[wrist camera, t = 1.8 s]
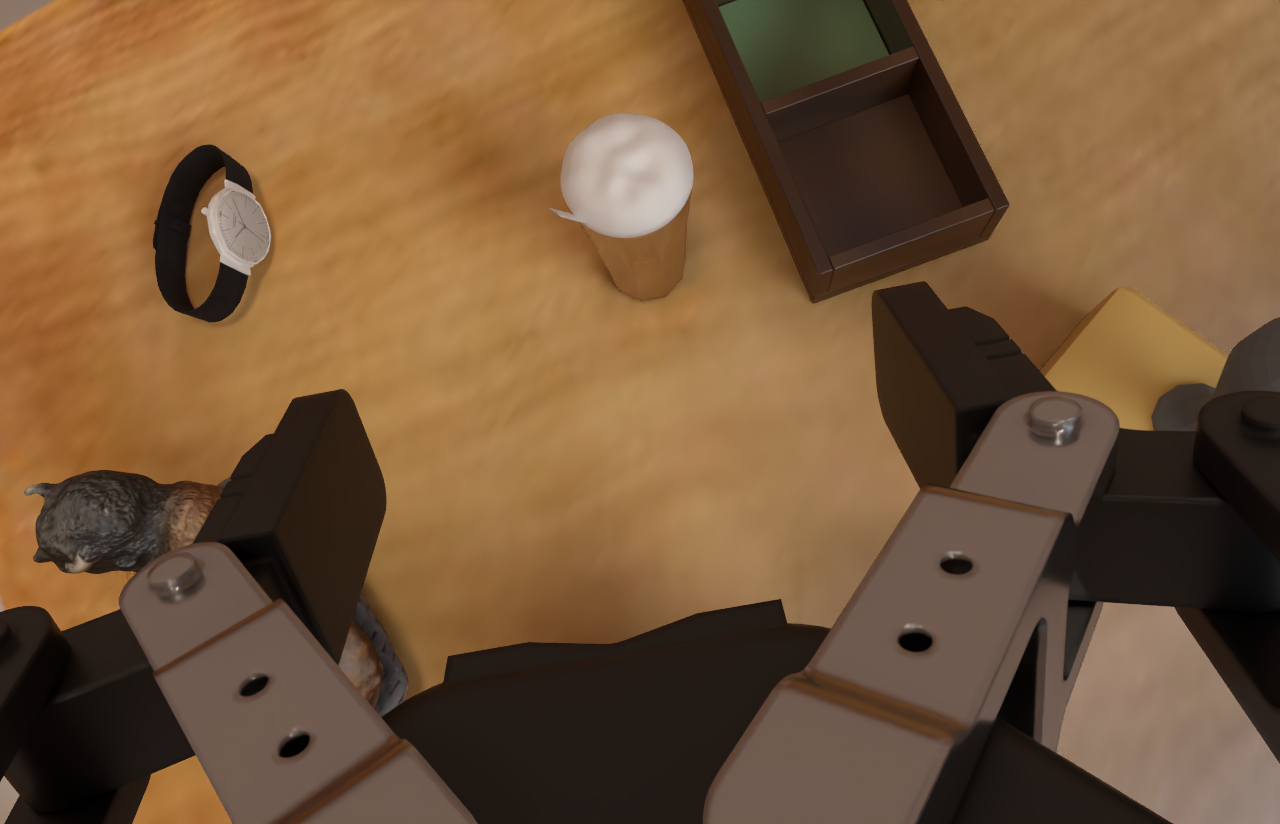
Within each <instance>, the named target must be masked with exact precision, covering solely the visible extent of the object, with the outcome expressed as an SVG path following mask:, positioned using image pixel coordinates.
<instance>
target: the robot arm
mask: <svg viewBox="0 0 1280 824" xmlns="http://www.w3.org/2000/svg"><path fill="white" fill-rule="evenodd" d="M872 321H873V337H874V354H875V370H876V384H877V393H878V398H879V403H880V407H881V411H882V414H883V418H884V420H885V423H886V425H887V427H888V429H889V430H890V432H891V434H892V436H893V438H894V440H895V442H896V444H897V446H898V448H899V449H900V451H901V453H902V455H903V457H904V459H905V461H906V463H907V465H908V466H909V468H910V470H911V472H912V474H913V476H914V478H915V480H916V482H917V484H918V485H919V487H920V489H921V490H920V491H919V492H918V494H917V495H916V497H915V498H914V500H913V502H912V503H911V505H910V506H909V508H908V509H907V511H906V512H905V514H904V516H903V517H902V519H901V520H900V522H899V523H898V525H897V527H896V528H895V530H894V531H893V533H892V534H891V536H890V538H889V539H888V541H887V542H886V544H885V545H884V547H883V549H882V550H881V552H880V553H879V555H878V556H877V558H876V559H875V561H874V563H873V564H872V566H871V567H870V569H869V570H868V572H867V574H866V575H865V577H864V578H863V580H862V581H861V583H860V585H859V586H858V588H857V589H856V591H855V592H854V594H853V595H852V597H851V599H850V600H849V602H848V603H847V605H846V606H845V608H844V610H843V611H842V613H841V614H840V616H839V617H838V619H837V621H836V622H835V624H834V625H833V627H832V628H831V629H830V628H826V627H821V626H814V625H806V624H791V623H787V621H786V617H785V613H784V610H783V606H782V602H781V599H778V600H772V601H767V602H761V603H755V604H749V605H743V606H737V607H732V608H726V609H720V610H714V611H708V612H702V613H697V614H695V615H692V616H689V617H686V618H684V619H681V620H678V621H676V622H673V623H670V624H667V625H665V626H662V627H659V628H657V629H654V630H651V631H649V632H646V633H643V634H640V635H638V636H635V637H632V638H630V639H627V640H624V641H621V642H618V643H613V644H575V643H536V642H527V643H522V644H516V645H510V646H504V647H498V648H492V649H487V650H481V651H475V652H469V653H463V654H457V655H452V656H448V659H447V664H446V670H445V676H444V682H443V683H441V684H438V685H436V686H433V687H431V688H429V689H427V690H425V691H423V692H421V693H419V694H416V695H415V696H413V697H411V698H409V699H408V700H406V701H404V702H403V703H401V704H399V705H398V706H396V707H395V708H393V709H392V710H390V711H389V712H388V713H386V714H385V715H383V716H382V717H380V715H379V714H378V713H377V712H376V711H375V709H374V708H373V707H372V706H371V705H370V703H369V702H368V701H367V700H366V699H365V697H364V696H363V695H362V694H361V693H360V691H359V690H358V689H357V688H356V687H355V685H354V684H353V683H352V682H351V681H350V679H349V678H348V677H347V676H346V675H345V673H344V672H343V671H342V670H341V669H340V667H339V666H338V665H339V662H340V659H341V656H342V653H343V649H344V646H345V643H346V640H347V636H348V633H349V630H350V626H351V623H352V620H353V617H354V613H355V610H356V607H357V604H358V600H359V597H360V594H361V590H362V587H363V584H364V581H365V577H366V574H367V571H368V567H369V564H370V561H371V558H372V554H373V551H374V548H375V545H376V541H377V538H378V535H379V531H380V528H381V525H382V522H383V518H384V515H385V511H386V489H385V483H384V479H383V475H382V472H381V470H380V467H379V465H378V462H377V459H376V457H375V454H374V452H373V449H372V447H371V444H370V442H369V439H368V437H367V434H366V431H365V429H364V426H363V424H362V421H361V419H360V416H359V414H358V411H357V409H356V406H355V404H354V401H353V399H352V398H351V396H350V395H349V393H348V392H347V391H345V390H343V389H340V390H335V391H329V392H324V393H319V394H313V395H308V396H303V397H297V398H294V399H293V400H292V401H291V403H290V405H289V407H288V409H287V410H286V412H285V414H284V416H283V418H282V420H281V422H280V423H279V425H278V427H277V429H276V431H275V433H274V434H269V435H266V436H264V437H263V438H262V439H261V440H260V441H259V442H258V443H257V444H255V445H254V446H253V447H252V448H251V449H250V450H249V451H248V452H246V453H245V454H244V455H243V456H242V458H241V459H240V461H239V463H238V465H237V466H236V468H235V470H234V472H233V473H232V475H231V477H230V478H231V481H228V482H227V484H226V486H225V487H224V489H223V491H222V493H221V494H220V495H221V499H218V500H217V501H216V503H215V505H214V507H213V508H212V510H211V512H210V514H209V515H208V517H207V519H206V520H205V522H204V524H203V526H202V527H201V529H200V531H199V533H198V534H197V536H196V538H195V540H194V541H193V543H192V544H190V545H187V546H184V547H180V548H178V549H175V550H173V551H170V552H168V553H166V554H164V555H162V556H160V557H158V558H157V559H155V560H153V561H152V562H150V563H149V564H147V565H146V566H144V567H143V568H142V569H141V570H139V571H138V572H137V573H136V574H135V575H134V576H133V577H132V578H131V579H130V580H129V581H128V582H127V584H126V585H125V586H124V588H123V590H122V592H121V594H120V597H119V606H120V609H119V610H117V611H115V612H112V613H109V614H107V615H104V616H101V617H99V618H96V619H93V620H91V621H88V622H86V623H83V624H80V625H78V626H75V627H72V628H70V629H67V630H64V631H62V632H61V630H60V629H59V628H58V626H57V625H56V623H55V622H54V620H53V619H52V617H51V616H50V614H49V613H48V612H47V611H46V610H45V609H43V608H40V607H36V606H23V607H17V608H13V609H9V610H5V611H2V612H0V781H1V779H2V778H3V776H5V777H6V778H7V780H8V781H9V782H10V784H11V785H12V786H13V787H14V788H15V790H16V791H17V792H18V794H19V795H20V796H19V798H18V799H17V801H16V803H15V805H14V807H13V809H12V810H11V812H10V814H9V816H8V818H7V820H6V822H5V824H132V822H133V820H134V818H135V815H136V813H137V810H138V808H139V805H140V803H141V800H142V798H143V795H144V793H145V791H146V788H147V786H148V783H149V780H150V776H151V774H152V773H154V772H157V771H159V770H161V769H164V768H166V767H169V766H171V765H173V764H176V763H178V762H180V761H183V760H185V759H187V758H190V757H192V756H195V755H196V756H197V758H198V760H199V761H200V763H201V765H202V767H203V769H204V771H205V773H206V775H207V776H208V778H209V780H210V782H211V784H212V786H213V788H214V789H215V791H216V793H217V795H218V797H219V799H220V801H221V802H222V804H223V806H224V808H225V810H226V812H227V814H228V815H229V817H230V819H231V821H232V823H233V824H1173V823H1171V822H1169V821H1168V820H1166V819H1164V818H1163V817H1161V816H1159V815H1158V814H1156V813H1154V812H1153V811H1151V810H1149V809H1148V808H1146V807H1145V806H1143V805H1141V804H1140V803H1138V802H1136V801H1135V800H1133V799H1131V798H1130V797H1128V796H1126V795H1125V794H1123V793H1121V792H1120V791H1118V790H1117V789H1115V788H1113V787H1112V786H1110V785H1108V784H1107V783H1105V782H1103V781H1102V780H1100V779H1098V778H1097V777H1095V776H1093V775H1092V774H1090V773H1089V772H1087V771H1085V770H1084V769H1082V768H1080V767H1079V766H1077V765H1075V764H1074V763H1072V762H1070V761H1069V760H1067V759H1065V758H1064V757H1062V756H1061V755H1059V754H1057V753H1056V752H1057V747H1058V742H1059V736H1060V731H1061V726H1062V721H1063V717H1064V714H1065V710H1066V707H1067V704H1068V701H1069V699H1070V696H1071V693H1072V690H1073V688H1074V685H1075V682H1076V679H1077V677H1078V674H1079V671H1080V668H1081V665H1082V663H1083V660H1084V657H1085V654H1086V652H1087V649H1088V646H1089V643H1090V641H1091V638H1092V635H1093V632H1094V630H1095V627H1096V624H1097V621H1098V619H1099V616H1100V613H1101V610H1102V607H1103V602H1111V603H1126V604H1141V605H1157V606H1172V607H1175V609H1176V611H1177V613H1178V614H1179V616H1180V617H1181V619H1182V620H1183V622H1184V623H1185V625H1186V626H1187V628H1188V629H1189V631H1190V632H1191V633H1192V635H1193V636H1194V638H1195V639H1196V641H1197V642H1198V644H1199V645H1200V647H1201V648H1202V650H1203V651H1204V653H1205V654H1206V656H1207V657H1208V658H1209V660H1210V661H1211V663H1212V664H1213V666H1214V667H1215V669H1216V670H1217V672H1218V673H1219V675H1220V676H1221V678H1222V679H1223V681H1224V682H1225V683H1226V685H1227V686H1228V688H1229V689H1230V691H1231V692H1232V694H1233V695H1234V697H1235V698H1236V700H1237V701H1238V703H1239V704H1240V706H1241V707H1242V708H1243V710H1244V711H1245V713H1246V714H1247V716H1248V717H1249V719H1250V720H1251V722H1252V723H1253V725H1254V726H1255V728H1256V729H1257V731H1258V732H1259V733H1260V735H1261V736H1262V738H1263V739H1264V741H1265V742H1266V744H1267V745H1268V747H1269V748H1270V750H1271V751H1272V753H1273V754H1274V756H1275V757H1276V758H1277V760H1278V761H1279V763H1280V392H1274V391H1241V392H1234V393H1229V394H1225V395H1222V396H1218V397H1216V398H1214V399H1212V400H1210V401H1209V402H1207V403H1206V404H1204V406H1203V407H1202V408H1201V409H1200V412H1199V414H1198V421H1197V428H1196V431H1147V430H1132V429H1124V428H1119V427H1120V425H1119V419H1118V417H1117V415H1116V414H1115V413H1114V412H1113V410H1112V409H1111V408H1109V407H1108V406H1107V405H1105V404H1103V403H1102V402H1100V401H1098V400H1096V399H1093V398H1091V397H1088V396H1084V395H1081V394H1076V393H1070V392H1061V391H1057V390H1056V389H1055V388H1054V387H1053V386H1052V385H1051V383H1050V382H1049V381H1048V380H1047V379H1046V378H1045V377H1044V375H1043V374H1042V373H1041V372H1040V371H1039V370H1038V369H1037V367H1036V366H1035V365H1034V364H1033V363H1032V362H1031V361H1030V360H1029V358H1028V357H1027V356H1026V355H1025V354H1022V353H1021V349H1020V348H1019V347H1018V346H1017V345H1016V344H1015V342H1014V341H1013V340H1012V339H1011V340H1009V336H1008V334H1007V333H1006V332H1005V331H1004V330H1003V329H1002V328H1001V326H1000V325H999V324H998V323H997V322H996V321H995V320H994V319H993V318H991V317H989V316H986V315H984V314H982V313H980V312H978V311H975V310H973V309H971V308H969V307H960V308H955V309H950V310H948V309H947V308H946V307H945V305H944V304H943V303H942V302H941V300H940V299H939V298H938V297H937V295H936V294H935V293H934V292H933V290H932V289H931V288H930V286H929V285H928V284H927V283H926V282H918V283H913V284H907V285H902V286H897V287H891V288H886V289H881V290H875V291H874V292H873V295H872Z"/></svg>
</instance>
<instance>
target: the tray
mask: <svg viewBox="0 0 1280 824" xmlns="http://www.w3.org/2000/svg"><path fill="white" fill-rule="evenodd" d="M683 2H684V4H685V7H686V9H687V11H688V14H689V16H690V18H691V21H692V23H693V25H694V28H695V30H696V32H697V35H698V37H699V39H700V42H701V44H702V46H703V49H704V51H705V53H706V56H707V58H708V60H709V63H710V65H711V67H712V70H713V72H714V74H715V77H716V79H717V81H718V84H719V86H720V89H721V91H722V93H723V96H724V98H725V100H726V103H727V105H728V107H729V110H730V112H731V114H732V117H733V119H734V121H735V124H736V126H737V128H738V131H739V133H740V135H741V138H742V140H743V142H744V145H745V147H746V149H747V152H748V154H749V156H750V159H751V161H752V163H753V166H754V168H755V170H756V173H757V175H758V177H759V180H760V182H761V184H762V187H763V189H764V191H765V194H766V196H767V198H768V201H769V203H770V205H771V208H772V210H773V212H774V215H775V217H776V219H777V222H778V224H779V226H780V229H781V231H782V233H783V236H784V238H785V240H786V243H787V245H788V247H789V250H790V252H791V254H792V257H793V259H794V261H795V264H796V266H797V268H798V271H799V273H800V275H801V278H802V280H803V282H804V285H805V287H806V289H807V292H808V294H809V296H810V299H811V301H812V303H816V302H818V301H821V300H824V299H827V298H829V297H832V296H835V295H837V294H840V293H843V292H846V291H848V290H851V289H854V288H857V287H859V286H862V285H865V284H867V283H870V282H873V281H876V280H878V279H881V278H884V277H887V276H889V275H892V274H895V273H897V272H900V271H903V270H906V269H908V268H911V267H914V266H917V265H919V264H922V263H925V262H927V261H930V260H933V259H936V258H938V257H941V256H944V255H947V254H949V253H952V252H955V251H957V250H960V249H963V248H966V247H968V246H971V245H974V244H977V243H979V242H982V241H985V240H987V239H988V238H989V237H990V235H991V233H992V232H993V230H994V229H995V227H996V226H997V224H998V223H999V221H1000V219H1001V218H1002V216H1003V215H1004V213H1005V212H1006V210H1007V208H1008V207H1009V202H1008V201H1007V199H1006V197H1005V195H1004V193H1003V191H1002V189H1001V187H1000V185H999V183H998V181H997V179H996V177H995V175H994V173H993V171H992V169H991V167H990V165H989V163H988V161H987V159H986V157H985V155H984V153H983V151H982V149H981V147H980V145H979V143H978V141H977V139H976V137H975V135H974V133H973V131H972V129H971V127H970V125H969V123H968V121H967V119H966V117H965V115H964V113H963V111H962V109H961V107H960V105H959V103H958V101H957V99H956V97H955V95H954V93H953V91H952V89H951V87H950V85H949V83H948V81H947V79H946V77H945V75H944V73H943V71H942V69H941V67H940V65H939V63H938V61H937V59H936V57H935V55H934V53H933V51H932V49H931V47H930V46H929V44H928V42H927V40H926V38H925V36H924V34H923V32H922V30H921V28H920V26H919V24H918V22H917V20H916V18H915V16H914V14H913V12H912V10H911V8H910V6H909V4H908V2H907V0H683Z"/></svg>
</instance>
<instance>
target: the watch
mask: <svg viewBox="0 0 1280 824" xmlns="http://www.w3.org/2000/svg"><path fill="white" fill-rule="evenodd" d="M223 167H225V168H226V180H225V188H224V189H222V190H221V191H219V192H218V193H217V194H215V195H214V196H213V197H212V199H211V201H210V203H209V205H208V208H206V207H203V208H202V210H201V213H202V214H204V215H206V216H207V222H208V228H209V234H210V237H211V239H212V241H213V243H214V245H215V247H216V249H217V251H218V253H219V254H220V255H221V256H220V261H219V262H220V268H219V274H218V277H217V280H216V284H215V287H214V288H213V290H212V292H211V294H210V296H209V297H208V298H207V300H206V301H205V302H204V303H203V304H202V305H201V306H200V307H198V308H197V309H194V308H193V306H192V304H191V302H190V300H189V297H188V294H187V291H186V282H185V262H186V248H187V241H188V237H189V234H190V233H189V232H190V227H191V225H189V222H190V218H191V214H192V211H193V207H194V204H195V202H196V199H197V197H198V195H199V192H200V190H201V189H202V187H203V186H204V184H205V183H206V181H207V180H208V179H209V178H210V177H211V176H212V175H213V174H214V173H215V172H217V171H218V170H219V169H221V168H223ZM255 198H256V197H255V196H254V195H253V190H252V182H251V179H250V176H249V174H248V172H247V170H246V169H245V168H244V167H243V166H242V165H240V164H239V163H238V162H237V161H235V160H234V159H233V158H231V157H230V156H229V155H227V154H226V153H224V152H223V151H222V150H220V149H219V148H218V147H216V146H213V145H202V146H200V147H197V148H196V149H194V150H193V151H192V152H191V153H189V154H188V155H187V156H186V157H185V158H184V159H183V160H182V161H181V162H180V163H179V164H178V166H177V167H176V169H175V171H174V172H173V174H172V175H171V178H170V180H169V183H168V185H167V187H166V190H165V192H164V196H163V199H162V202H161V205H160V209H159V212H158V216H157V220H156V221H155V223H154V224H155V225H156V226H155V232H154V238H153V247H154V249H155V250H156V255H155V269H156V276H157V282H158V286H159V289H160V291H161V293H162V296H163V298H164V299H165V301H166V302H167V303H168V305H169V306H170V307H172V308H173V309H174V310H175V311H178V312H181V313H184V314H187V315H190V316H193V317H196V318H199V319H202V320H205V321H207V322H218V321H221V320H223V319H225V318H226V317H228V316H229V315H230V314H232V313H233V311H234V310H235V308H236V307H237V306H238V304H239V303H240V301H241V298H242V295H243V293H244V290H245V288H246V284H247V279H248V276H251V270H250V268H251V267H253V266H254V265H257V264H258V263H259V262H260V261H262V260H263V259H264V258H265V256H266V255H267V253H268V251H269V247H270V240H271V234H270V227H269V224H268V221H267V218H266V216H265V214H264V212H263V209H262V207H261V205H260V204H259V203H258V202H257V201H256V200H255Z"/></svg>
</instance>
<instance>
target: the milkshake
mask: <svg viewBox="0 0 1280 824" xmlns="http://www.w3.org/2000/svg"><path fill="white" fill-rule="evenodd" d="M693 180H694V171H693V164H692V160H691V156H690V153H689V150H688V147H687V145H686V144H685V142H684V140H683V139H682V138H681V137H680V136H679V135H678V134H677V133H676V132H675V131H674V130H673V129H672V128H670V127H669V126H668V125H666V124H665V123H663V122H661V121H659V120H657V119H655V118H653V117H649V116H645V115H640V114H631V113H616V114H610V115H607V116H604V117H602V118H600V119H598V120H596V121H595V122H593V123H592V124H590V125H589V126H588V127H587V128H585V129H584V130H583V131H582V132H581V133H579V134H578V135H577V136H576V137H575V138H574V139H573V140H572V142H571V143H570V144H569V146H568V148H567V150H566V152H565V155H564V159H563V164H562V170H561V190H562V194H563V197H564V200H565V202H566V204H567V206H568V207H569V209H570V210H571V212H572V213H573V214H571V213H567V212H564V211H560V210H557V209H554V208H550V207H549V209H550V210H551V211H552V212H553V213H554V214H555V215H557V216H559V217H562V218H565V219H569V220H572V221H576V222H578V223H579V224H580V226H581V227H582V229H583V231H584V232H585V234H586V235H587V237H588V238H589V239H590V241H591V242H592V244H593V245H594V247H595V248H596V249H597V251H598V253H599V255H600V257H601V259H602V261H603V262H604V264H605V266H606V268H607V270H608V272H609V273H610V275H611V277H612V279H613V280H614V282H615V284H616V286H617V287H618V289H619V291H620V292H622V293H624V294H627V295H629V296H631V297H634V298H636V299H638V300H640V301H645V300H650V299H655V298H660V297H665V296H666V295H667V294H668V293H669V292H670V291H671V290H672V289H673V288H674V287H675V286H676V285H677V284H678V283H679V282H680V281H681V280H682V278H683V270H684V263H685V256H686V239H687V220H688V215H689V208H690V201H691V193H692V186H693Z"/></svg>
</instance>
